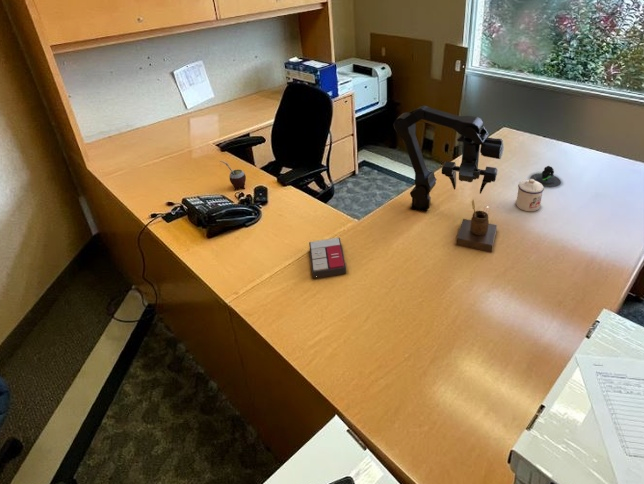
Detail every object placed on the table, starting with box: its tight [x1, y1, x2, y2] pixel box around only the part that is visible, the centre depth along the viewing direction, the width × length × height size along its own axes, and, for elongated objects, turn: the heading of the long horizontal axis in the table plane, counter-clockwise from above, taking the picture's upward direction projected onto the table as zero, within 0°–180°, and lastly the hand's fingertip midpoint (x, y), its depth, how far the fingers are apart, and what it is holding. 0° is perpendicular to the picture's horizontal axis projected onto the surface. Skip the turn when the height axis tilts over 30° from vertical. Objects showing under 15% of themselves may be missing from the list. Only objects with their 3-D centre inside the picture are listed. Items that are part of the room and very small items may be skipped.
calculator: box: [308, 237, 347, 280], centre depth 140 cm, size 11×4×15 cm
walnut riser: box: [455, 218, 498, 253], centre depth 146 cm, size 12×12×3 cm
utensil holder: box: [470, 199, 491, 235], centre depth 143 cm, size 6×6×12 cm
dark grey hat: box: [529, 165, 562, 188], centre depth 175 cm, size 12×12×12 cm
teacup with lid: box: [515, 178, 545, 212], centre depth 160 cm, size 12×9×12 cm
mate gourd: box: [219, 160, 247, 191], centre depth 185 cm, size 8×8×15 cm
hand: (467, 191), depth 152 cm, fingers open, 9 cm apart
